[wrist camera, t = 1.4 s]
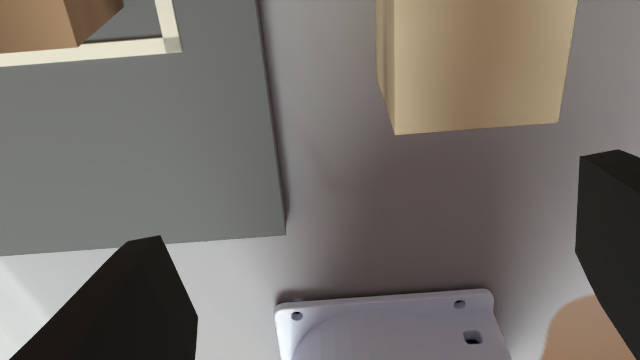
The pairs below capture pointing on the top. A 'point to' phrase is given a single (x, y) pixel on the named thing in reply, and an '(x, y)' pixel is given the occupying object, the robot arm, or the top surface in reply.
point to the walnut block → (51, 23)
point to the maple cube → (472, 62)
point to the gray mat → (141, 133)
